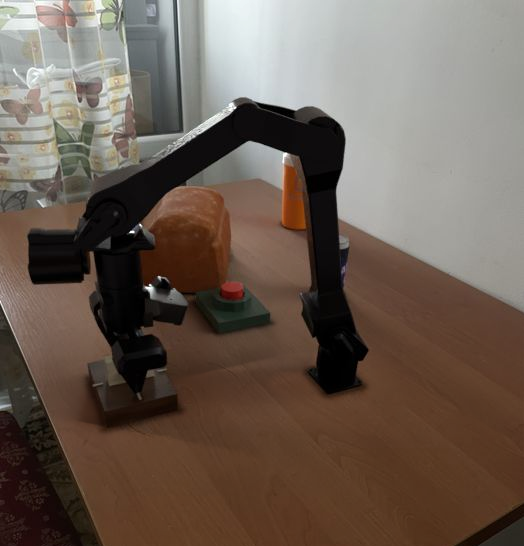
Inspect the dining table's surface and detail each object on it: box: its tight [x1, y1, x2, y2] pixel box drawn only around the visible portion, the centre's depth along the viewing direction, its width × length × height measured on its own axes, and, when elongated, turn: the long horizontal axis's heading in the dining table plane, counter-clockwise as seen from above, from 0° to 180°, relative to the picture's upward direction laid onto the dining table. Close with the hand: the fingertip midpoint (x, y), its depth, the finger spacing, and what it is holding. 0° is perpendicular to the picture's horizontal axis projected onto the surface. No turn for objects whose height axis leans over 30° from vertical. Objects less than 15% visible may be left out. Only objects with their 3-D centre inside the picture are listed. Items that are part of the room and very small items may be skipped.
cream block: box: [103, 354, 154, 386], centre depth 78 cm, size 6×2×4 cm, turn 116°
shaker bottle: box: [281, 152, 306, 230], centre depth 135 cm, size 9×9×20 cm
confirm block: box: [194, 283, 271, 334], centre depth 101 cm, size 12×10×4 cm
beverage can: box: [339, 233, 350, 289], centre depth 106 cm, size 6×6×12 cm
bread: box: [141, 185, 232, 294], centre depth 113 cm, size 17×24×15 cm
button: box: [221, 281, 243, 300], centre depth 99 cm, size 4×4×2 cm
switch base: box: [86, 359, 179, 429], centre depth 80 cm, size 12×11×3 cm
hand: (130, 377), depth 79 cm, fingers open, 7 cm apart
